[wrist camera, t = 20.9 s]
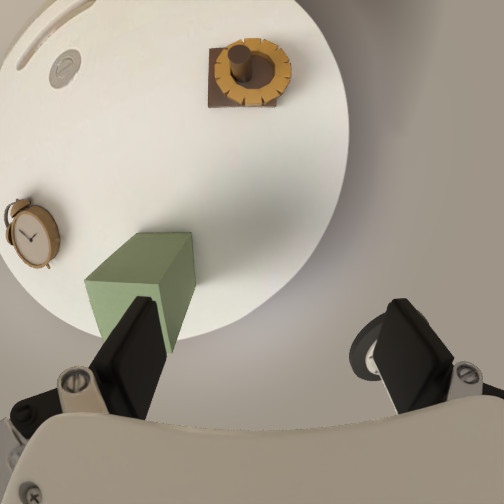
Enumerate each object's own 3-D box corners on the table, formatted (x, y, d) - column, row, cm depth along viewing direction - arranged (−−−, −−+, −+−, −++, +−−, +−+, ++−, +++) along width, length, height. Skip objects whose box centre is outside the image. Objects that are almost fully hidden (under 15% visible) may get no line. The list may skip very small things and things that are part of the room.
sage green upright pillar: (191, 232, 40) (158, 284, 25) (196, 286, 43) (172, 353, 28) (136, 233, 40) (83, 280, 25) (144, 284, 43) (104, 345, 28)
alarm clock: (44, 280, 40) (-7, 239, 34) (55, 266, 44) (6, 228, 38) (59, 235, 37) (3, 191, 31) (71, 224, 41) (18, 183, 35)
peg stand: (275, 50, 30) (283, 21, 20) (275, 107, 33) (284, 93, 24) (210, 51, 30) (197, 22, 20) (209, 108, 33) (194, 94, 24)
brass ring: (287, 44, 28) (289, 39, 27) (289, 106, 32) (291, 104, 30) (216, 44, 28) (215, 39, 27) (216, 107, 32) (214, 104, 30)
